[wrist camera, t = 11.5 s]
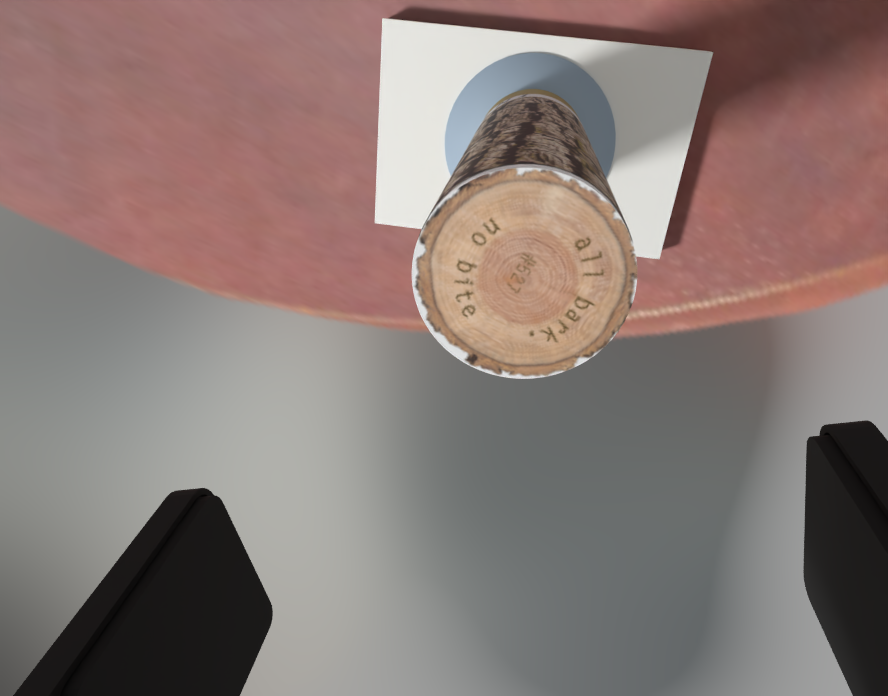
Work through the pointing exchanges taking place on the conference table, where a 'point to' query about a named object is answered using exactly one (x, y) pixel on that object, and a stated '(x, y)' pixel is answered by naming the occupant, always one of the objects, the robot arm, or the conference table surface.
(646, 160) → the holder board
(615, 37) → the conference table surface
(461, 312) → the paper tube
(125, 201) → the conference table surface
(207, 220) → the conference table surface
